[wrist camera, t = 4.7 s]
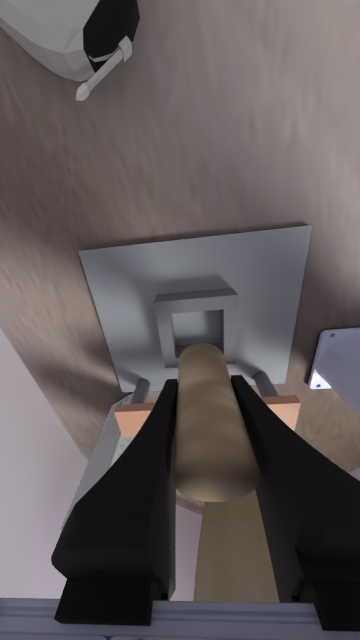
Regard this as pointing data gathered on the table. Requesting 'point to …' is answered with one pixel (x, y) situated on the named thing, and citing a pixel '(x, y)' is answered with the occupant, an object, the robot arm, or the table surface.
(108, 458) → the skincare box
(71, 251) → the table surface
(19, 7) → the robot toy
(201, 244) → the socket station
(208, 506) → the plant pot
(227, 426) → the peg
